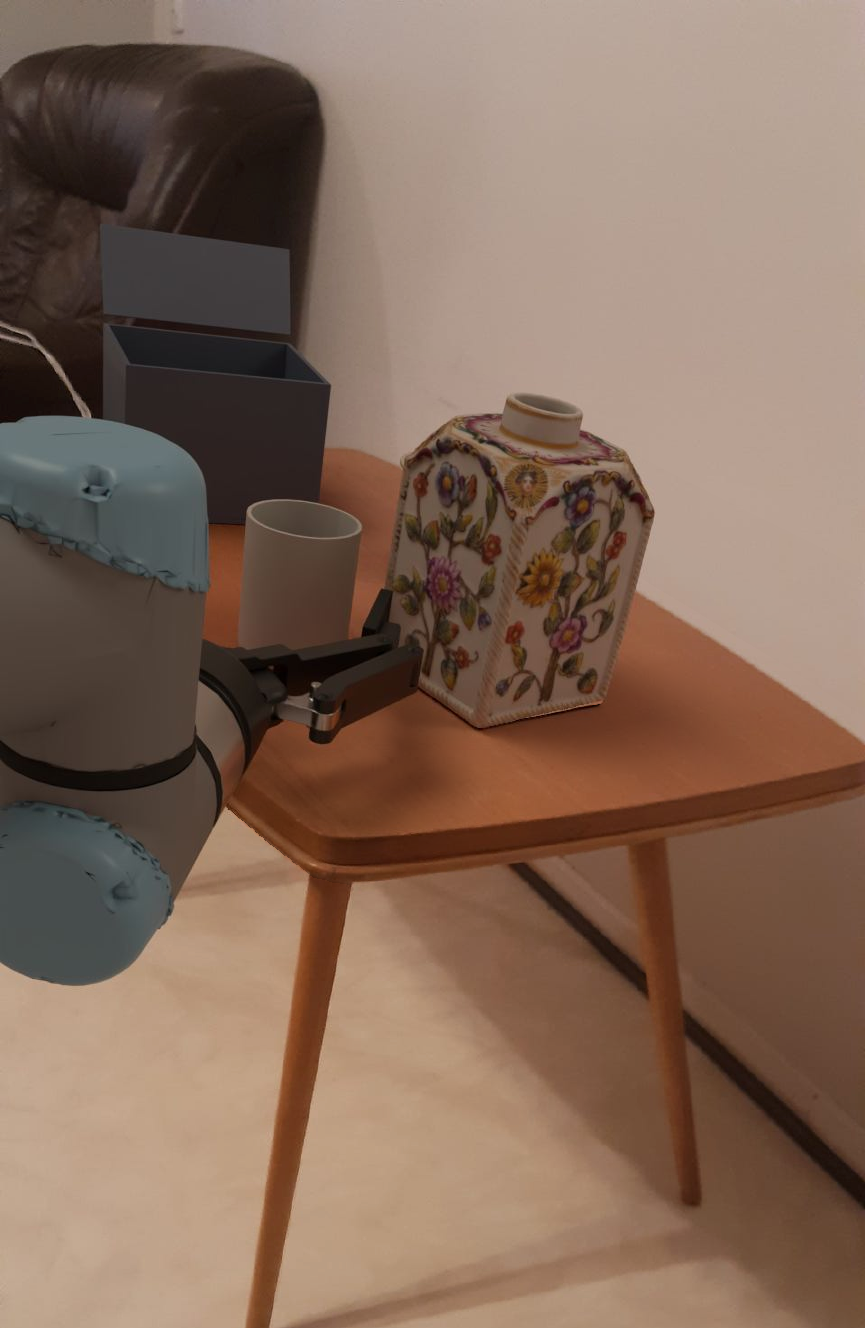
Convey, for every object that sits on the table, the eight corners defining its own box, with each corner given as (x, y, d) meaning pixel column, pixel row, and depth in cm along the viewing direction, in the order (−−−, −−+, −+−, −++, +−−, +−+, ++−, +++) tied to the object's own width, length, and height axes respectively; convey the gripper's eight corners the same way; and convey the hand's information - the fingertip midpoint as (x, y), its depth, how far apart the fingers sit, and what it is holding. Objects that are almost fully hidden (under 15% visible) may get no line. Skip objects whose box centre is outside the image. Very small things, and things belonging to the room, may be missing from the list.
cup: (254, 677, 77) (265, 537, 72) (213, 614, 84) (221, 483, 79) (360, 675, 80) (379, 540, 75) (312, 614, 87) (326, 487, 82)
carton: (123, 518, 97) (125, 364, 90) (102, 464, 107) (103, 322, 100) (315, 528, 102) (331, 384, 96) (278, 476, 112) (290, 343, 106)
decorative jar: (369, 656, 82) (409, 373, 72) (499, 637, 89) (553, 375, 79) (479, 735, 75) (541, 434, 65) (610, 708, 82) (686, 431, 72)
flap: (100, 223, 98) (99, 224, 99) (104, 314, 100) (103, 315, 100) (289, 249, 104) (288, 250, 104) (290, 334, 105) (289, 335, 106)
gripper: (-86, 756, 59) (74, 606, 76) (419, 861, 59) (464, 686, 76) (-100, 608, 55) (73, 484, 72) (445, 720, 54) (487, 569, 72)
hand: (274, 588), depth 74 cm, fingers open, 13 cm apart
